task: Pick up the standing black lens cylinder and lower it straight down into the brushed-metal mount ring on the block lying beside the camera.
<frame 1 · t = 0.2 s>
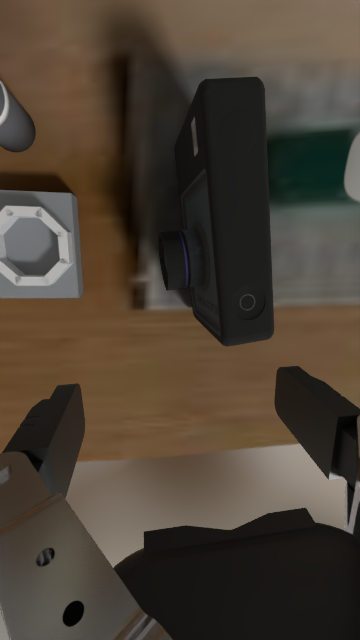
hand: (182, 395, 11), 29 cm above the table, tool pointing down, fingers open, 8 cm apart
mount block: (43, 246, 36), on the table
lens: (12, 128, 32), on the table
camera: (191, 234, 38), on the table
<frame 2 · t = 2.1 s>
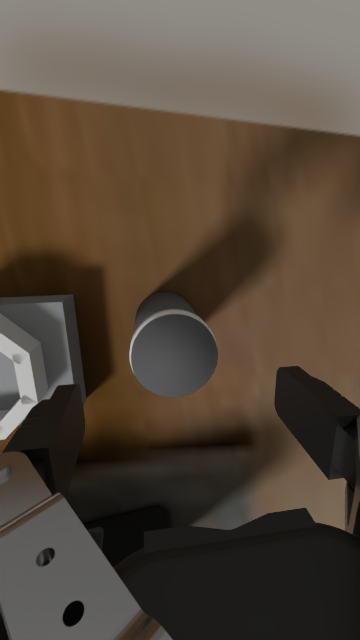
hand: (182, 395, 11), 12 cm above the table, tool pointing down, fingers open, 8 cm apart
mount block: (1, 354, 22), on the table
lens: (165, 320, 23), on the table
camera: (61, 531, 28), on the table
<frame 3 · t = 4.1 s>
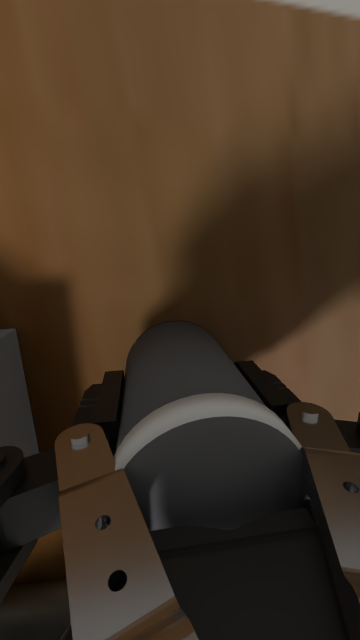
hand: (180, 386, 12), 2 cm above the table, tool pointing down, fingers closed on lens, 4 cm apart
lens: (175, 367, 14), on the table, touching gripper
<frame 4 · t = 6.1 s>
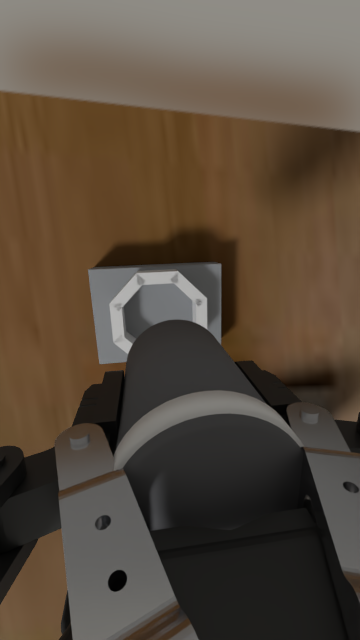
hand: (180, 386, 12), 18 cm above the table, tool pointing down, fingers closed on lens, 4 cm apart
mount block: (157, 308, 29), on the table
lens: (175, 366, 14), point 16 cm above the table, touching gripper
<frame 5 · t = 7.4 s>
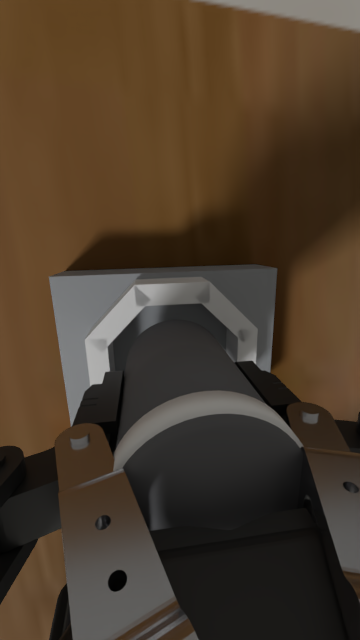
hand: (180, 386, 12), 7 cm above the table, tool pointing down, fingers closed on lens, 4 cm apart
mount block: (166, 335, 19), on the table
lens: (175, 366, 14), point 5 cm above the table, touching gripper
camera: (197, 539, 24), on the table
when the fingers open (6 cm above the table, at t = 8.4 s): lens stays where it is, resting on mount block.
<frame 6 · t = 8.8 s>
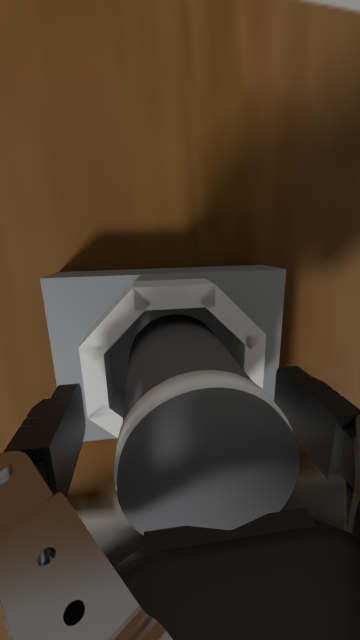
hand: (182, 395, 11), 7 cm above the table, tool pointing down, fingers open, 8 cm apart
mount block: (167, 340, 18), on the table
lens: (175, 358, 15), point 3 cm above the table, touching mount block
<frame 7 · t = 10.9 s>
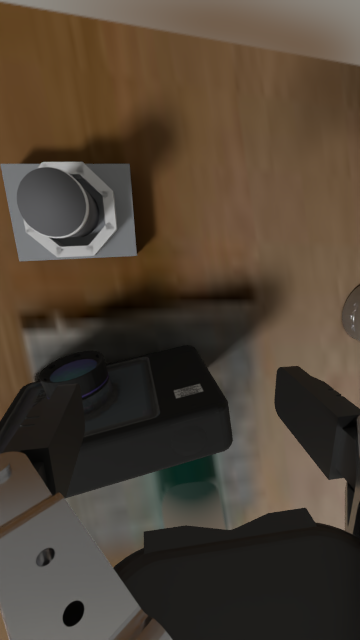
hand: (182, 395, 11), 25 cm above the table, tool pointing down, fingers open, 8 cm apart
mount block: (79, 215, 31), on the table
lens: (75, 212, 28), point 3 cm above the table, touching mount block
camera: (114, 367, 37), on the table
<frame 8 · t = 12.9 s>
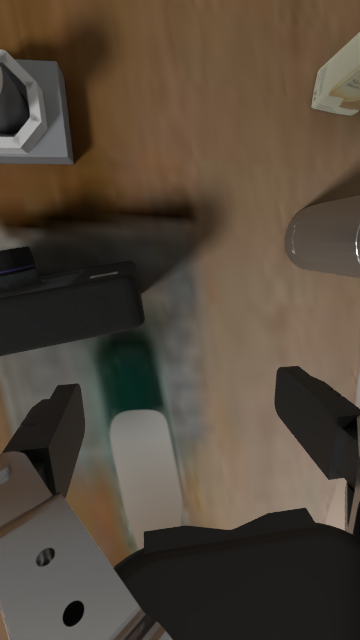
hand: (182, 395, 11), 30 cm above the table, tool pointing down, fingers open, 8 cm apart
skincare box: (334, 95, 37), on the table
mount block: (15, 120, 33), on the table
lens: (4, 108, 30), point 3 cm above the table, touching mount block
camera: (57, 282, 39), on the table
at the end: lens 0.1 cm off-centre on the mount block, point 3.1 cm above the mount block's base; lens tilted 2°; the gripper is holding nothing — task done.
